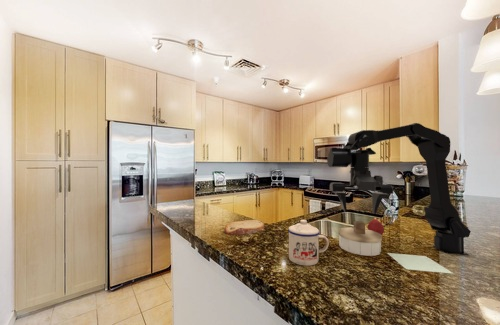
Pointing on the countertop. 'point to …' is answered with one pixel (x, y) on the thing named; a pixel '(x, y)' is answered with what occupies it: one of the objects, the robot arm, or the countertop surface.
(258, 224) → the bread slice
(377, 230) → the onion
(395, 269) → the countertop surface
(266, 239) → the countertop surface
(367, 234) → the lid
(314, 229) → the teacup with lid
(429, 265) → the mat
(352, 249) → the bowl
